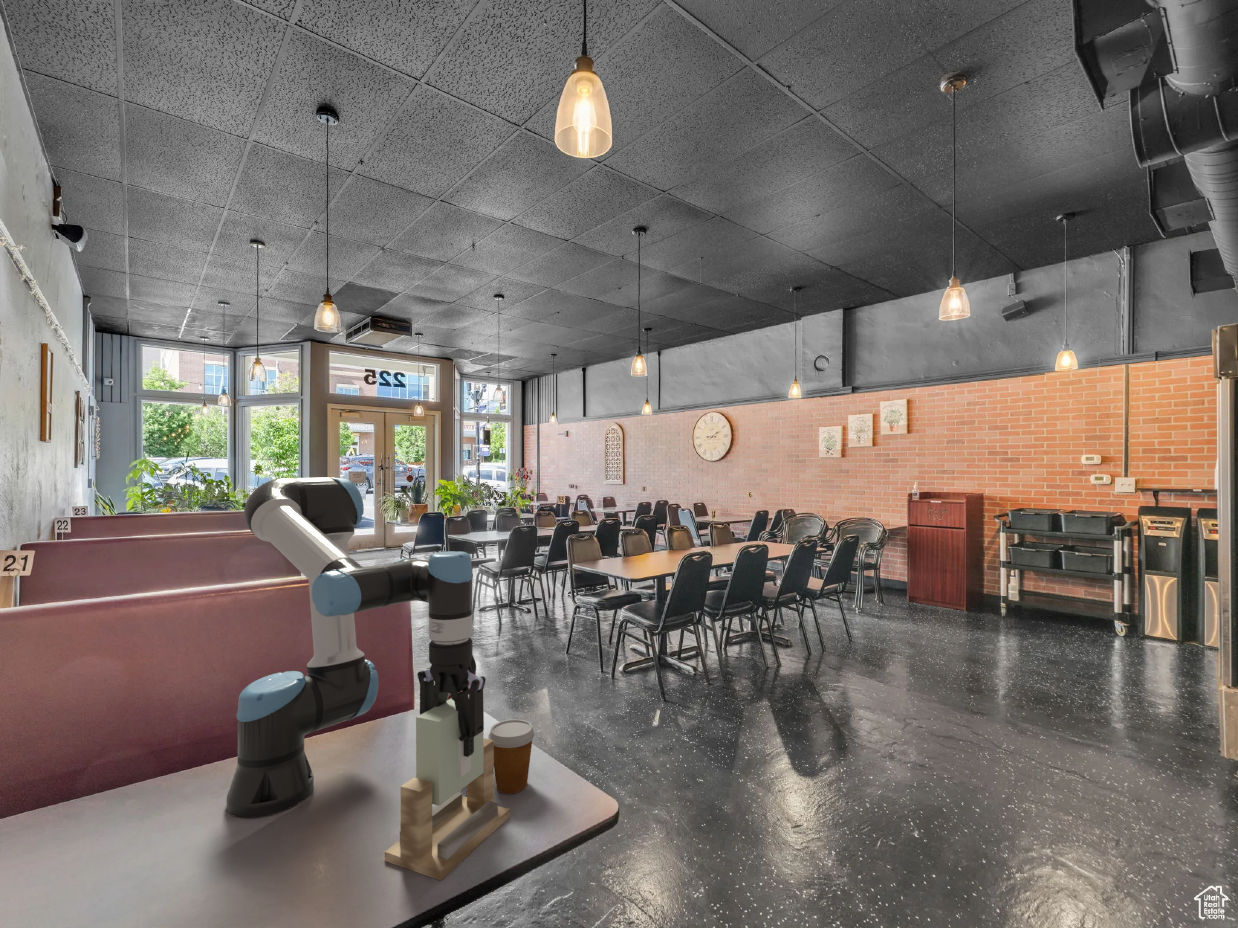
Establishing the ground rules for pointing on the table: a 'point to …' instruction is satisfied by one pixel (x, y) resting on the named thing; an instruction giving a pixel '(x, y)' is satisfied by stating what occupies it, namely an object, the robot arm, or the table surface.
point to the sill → (446, 823)
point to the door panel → (444, 752)
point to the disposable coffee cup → (512, 754)
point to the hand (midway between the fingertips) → (451, 769)
